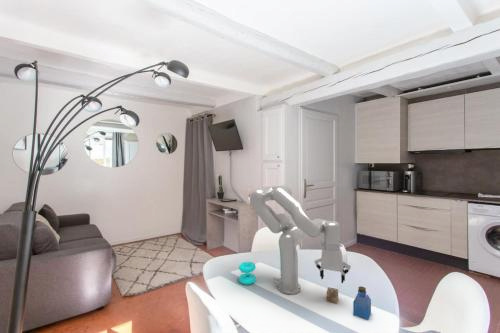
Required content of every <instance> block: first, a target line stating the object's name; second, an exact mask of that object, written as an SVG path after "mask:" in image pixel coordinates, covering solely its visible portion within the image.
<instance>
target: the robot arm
mask: <svg viewBox="0 0 500 333" xmlns="http://www.w3.org/2000/svg"><path fill="white" fill-rule="evenodd" d="M249 196H250V197H249V203H250V204H249V205H250V206H251V209H252V210H253V211H254V212H255V214H256V215H257V216H258V217H259V218H260V220H262V222H263V224H265V225H266V227H267V228H268V229H269V230H270V232H271V233H273V234H280V233H281V232H282V233H281V235H280V236H279V238H278V248H279V260H280V262H279V264H280V265H279V266H280V277H276V276H275V277H274V278H273V281H274V284H277V289H278V291H280V292H281V293H283V294H284V295H296V294H299V293H301V290H302V286H301V284H300V283H299V260H298V259H299V256H298V251H297V246H298V245H299V244H300V243H301V242H302V241H303V233H304V234H305V235H307V236H308V237H309V238H313V239H315V238H318V237H319V236H321V235H322V234H323V242H321V244H320V245H321V246H323V247H322V249H321V256H320V257H321V258H317V259H316V260H315V259H314V264H315V266H316V268H317V269H318V271H319V277H320V278H321V280H323V279H324V276H325V275H324V271H325V270H327V271H332V272H333V271H334V272H339V273H341V274H340V275H341V276H340V278H341V282H340V283H342V284H344V282H345V280H346V275H347V274H348V273H349V272H350V270H351V267H352V266H351V265H349V263H348V262H347V263H345V262H343V257H342V251H341V249H340V244H341V236H340V235H341V233H340V232H341V229H340V228H341V226H340V223H339V221H335V220H326V219H322V218H314V219H311V218H309V217H308V216H307V215H306V214H305V212H304V210H303V206H302V203H301V202H300V200H298V199H297V198H296V197H294V195H293V191H292V190H291V188H290V187H289V186H288V185H275V186H274V185H273V186H264V187H261V188H256V189H255V190H253V191H252V192H251V194H250V195H249ZM269 201H274V202H276V203H277V204H278V205H279V206H280V207H281V208H283V210H285V212H287V213H288V214H289V215H290V217H291V218H290V217H289V216H288V215H287V214H285V213H276V212H275V211H274V210H273V208H272V207H271V206H270V205H268V204H267V203H266V202H269ZM343 265H344V266H343ZM344 267H345V268H346V269H344Z"/></svg>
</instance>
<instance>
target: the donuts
mask: <svg viewBox="0 0 500 333" xmlns="http://www.w3.org/2000/svg"><path fill="white" fill-rule="evenodd" d="M256 268H257V267H256V264H255V263H254V262H252V261H251V262H250V261H243V262H241V263H240V264H239V265H238V270H239V271H240V272H241V273H242V274H241V275H239V277H238V281H239V283H241V284H242V285H245V286H247V285H248V286H249V285H252V284H254V283H255V282H256V280H257V278H256V276H255V275H254V273H253V272H254V271H255V270H256Z"/></svg>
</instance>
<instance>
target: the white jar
mask: <svg viewBox="0 0 500 333" xmlns="http://www.w3.org/2000/svg"><path fill="white" fill-rule="evenodd" d="M340 249H341V251H342V257H343V262H345V263H347V264H348V253H347V250H346V247H345V245H344V244H342V243H340ZM343 267H345V266H344V265H343Z"/></svg>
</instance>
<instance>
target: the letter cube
mask: <svg viewBox="0 0 500 333" xmlns="http://www.w3.org/2000/svg"><path fill="white" fill-rule="evenodd" d="M326 302H327V303H332V304H335V305H338V304H339V288H332V287H328V286H327V289H326Z"/></svg>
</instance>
